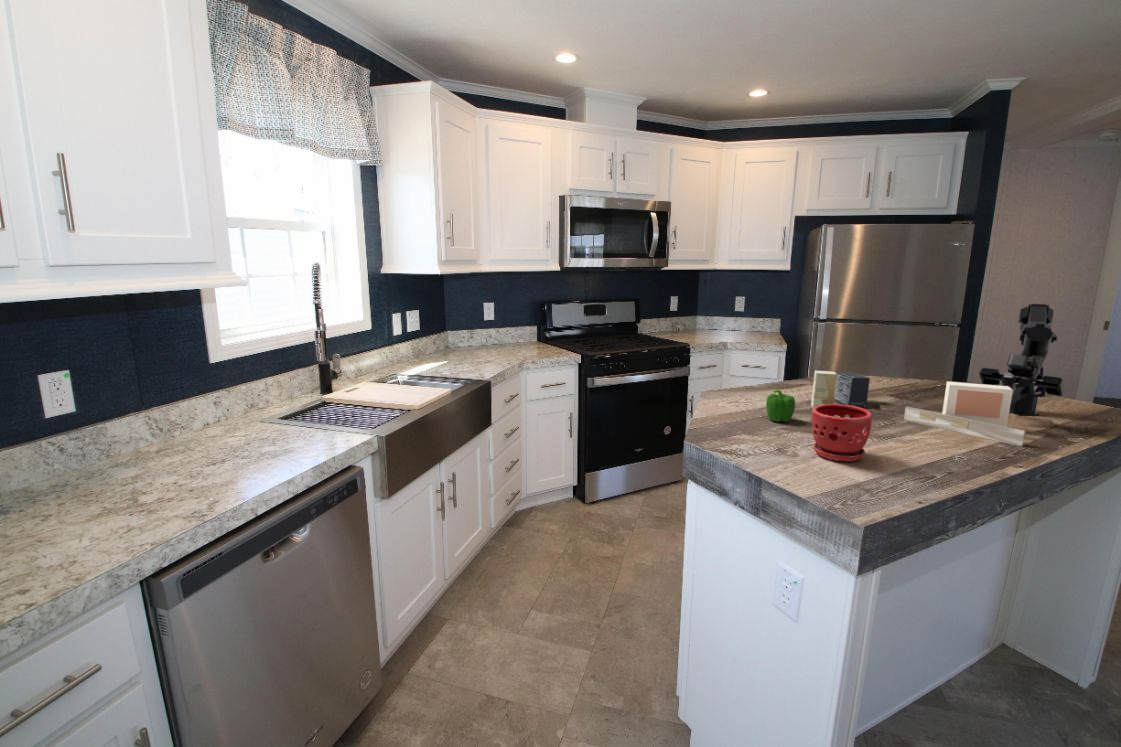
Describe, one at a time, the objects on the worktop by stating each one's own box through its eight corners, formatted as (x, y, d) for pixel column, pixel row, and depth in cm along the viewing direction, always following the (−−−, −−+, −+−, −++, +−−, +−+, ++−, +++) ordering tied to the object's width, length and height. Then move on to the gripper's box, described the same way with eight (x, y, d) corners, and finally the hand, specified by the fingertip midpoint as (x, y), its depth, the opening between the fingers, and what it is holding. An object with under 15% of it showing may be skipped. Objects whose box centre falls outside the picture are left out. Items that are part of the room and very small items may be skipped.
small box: (867, 408, 177) (871, 377, 175) (848, 408, 177) (851, 377, 175) (851, 400, 187) (854, 371, 185) (832, 400, 187) (835, 371, 185)
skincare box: (812, 408, 176) (815, 372, 174) (810, 405, 180) (813, 370, 178) (833, 409, 175) (837, 373, 172) (831, 406, 179) (834, 371, 176)
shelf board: (932, 415, 167) (934, 398, 166) (1046, 439, 144) (1049, 420, 143) (903, 424, 158) (905, 407, 157) (1020, 452, 135) (1023, 431, 134)
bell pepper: (788, 417, 167) (791, 386, 165) (797, 424, 159) (800, 392, 157) (761, 416, 168) (763, 385, 166) (768, 424, 160) (771, 391, 158)
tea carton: (939, 418, 158) (945, 379, 156) (998, 425, 152) (1005, 384, 149) (945, 427, 150) (951, 386, 147) (1008, 434, 143) (1015, 391, 141)
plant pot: (815, 443, 142) (820, 400, 139) (871, 454, 134) (876, 408, 131) (801, 457, 132) (806, 411, 130) (860, 469, 124) (866, 420, 121)
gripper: (986, 340, 159) (964, 380, 155) (1069, 348, 143) (1047, 393, 140) (993, 363, 165) (972, 402, 161) (1073, 373, 149) (1052, 417, 145)
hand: (1008, 403), depth 152 cm, fingers closed
